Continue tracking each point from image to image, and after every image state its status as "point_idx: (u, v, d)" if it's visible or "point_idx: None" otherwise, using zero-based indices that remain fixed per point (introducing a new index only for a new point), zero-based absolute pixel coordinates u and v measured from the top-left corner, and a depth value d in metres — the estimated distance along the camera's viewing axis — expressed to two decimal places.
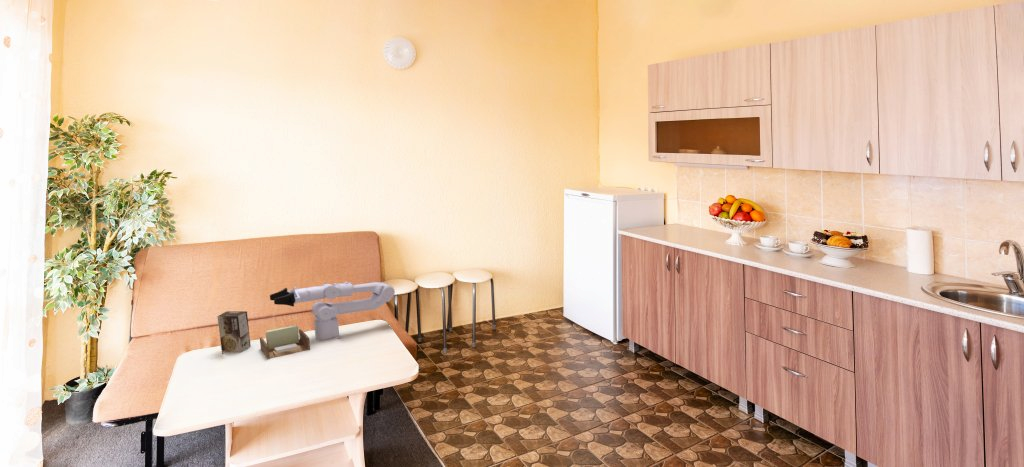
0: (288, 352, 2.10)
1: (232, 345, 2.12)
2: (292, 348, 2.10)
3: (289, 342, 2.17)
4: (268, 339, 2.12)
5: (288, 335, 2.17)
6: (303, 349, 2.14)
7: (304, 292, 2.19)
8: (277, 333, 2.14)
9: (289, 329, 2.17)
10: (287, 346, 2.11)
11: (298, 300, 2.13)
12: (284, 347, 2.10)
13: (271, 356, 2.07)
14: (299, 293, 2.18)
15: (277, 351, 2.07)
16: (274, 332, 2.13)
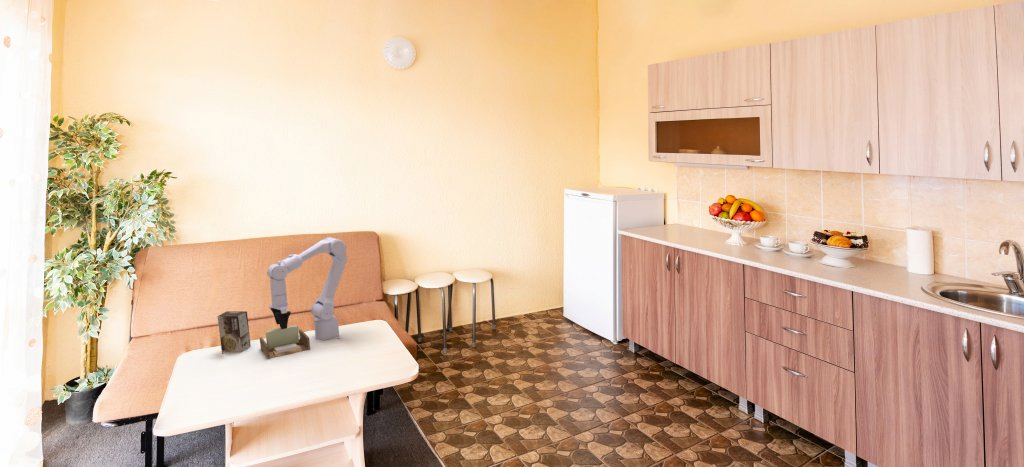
0: (288, 352, 2.10)
1: (232, 345, 2.12)
2: (292, 348, 2.10)
3: (289, 342, 2.17)
4: (268, 339, 2.12)
5: (288, 335, 2.17)
6: (303, 349, 2.14)
7: (276, 299, 2.11)
8: (277, 333, 2.14)
9: (289, 329, 2.17)
10: (287, 346, 2.11)
11: (284, 310, 2.08)
12: (284, 347, 2.10)
13: (271, 356, 2.07)
14: (277, 304, 2.11)
15: (277, 351, 2.07)
16: (274, 332, 2.13)
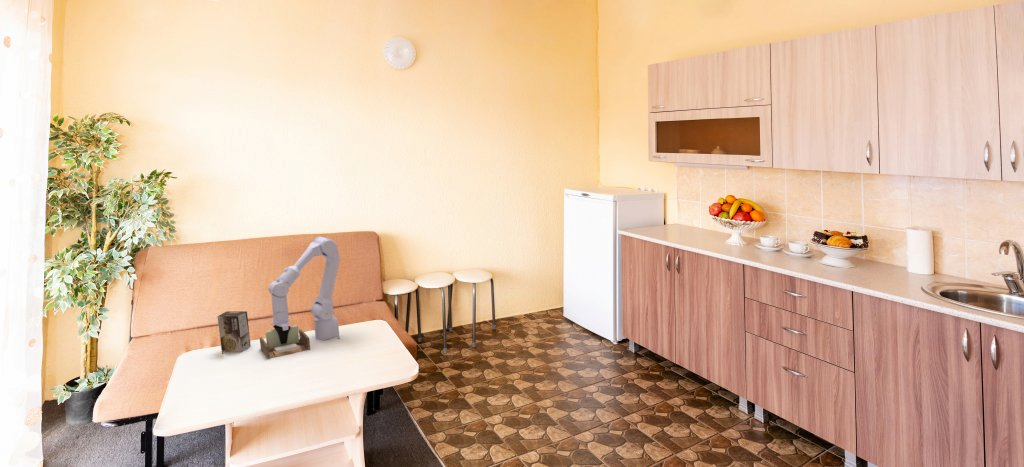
0: (288, 352, 2.10)
1: (232, 345, 2.12)
2: (292, 348, 2.10)
3: (289, 342, 2.17)
4: (268, 339, 2.12)
5: (288, 335, 2.17)
6: (303, 349, 2.14)
7: (277, 316, 2.12)
8: (277, 333, 2.14)
9: None
10: (287, 346, 2.11)
11: (286, 327, 2.10)
12: (284, 347, 2.10)
13: (271, 356, 2.07)
14: (278, 321, 2.12)
15: (277, 351, 2.07)
16: (274, 332, 2.13)
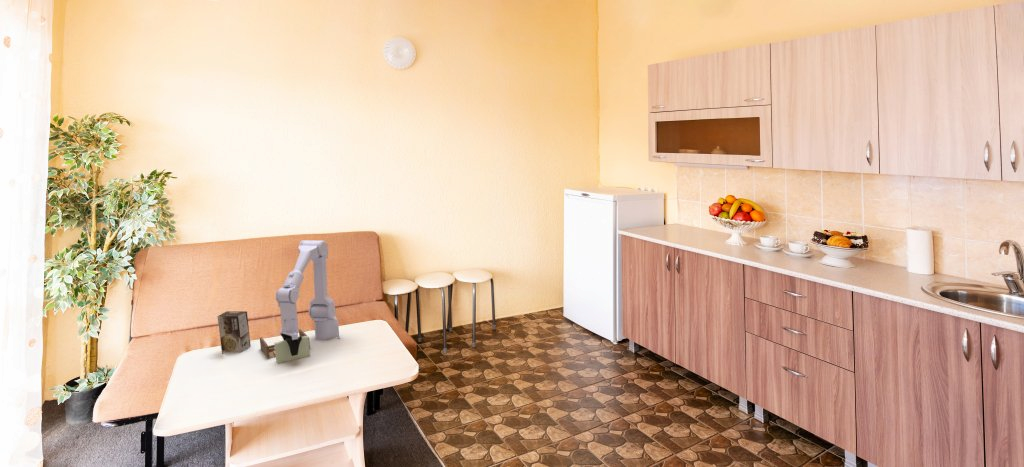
0: None
1: (232, 345, 2.12)
2: None
3: (299, 354, 2.05)
4: (277, 351, 2.00)
5: None
6: None
7: (286, 324, 2.00)
8: (287, 345, 2.02)
9: None
10: None
11: (295, 336, 1.97)
12: None
13: (271, 356, 2.07)
14: (287, 329, 2.00)
15: None
16: (284, 343, 2.01)
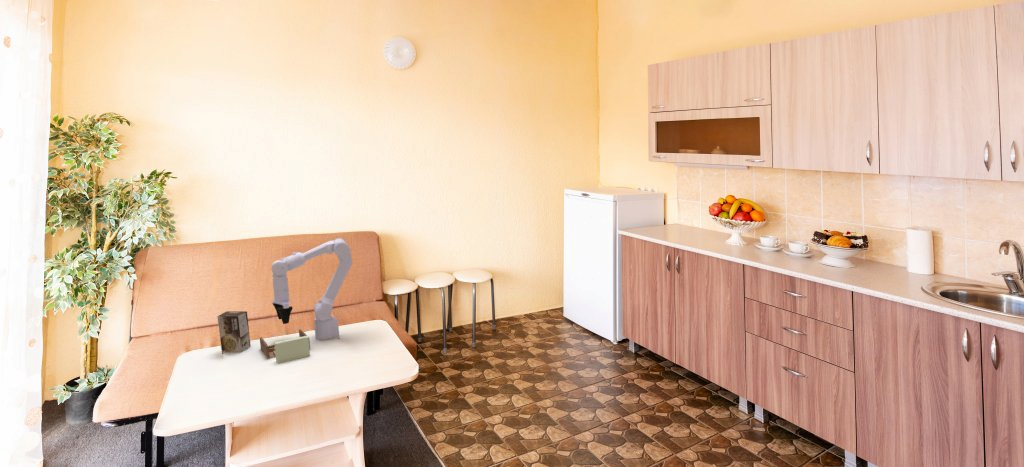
0: None
1: (232, 345, 2.12)
2: None
3: (299, 354, 2.05)
4: (277, 351, 2.00)
5: (298, 347, 2.05)
6: None
7: (278, 294, 2.16)
8: (287, 345, 2.02)
9: (299, 340, 2.05)
10: None
11: (286, 305, 2.13)
12: None
13: (271, 356, 2.07)
14: (279, 299, 2.16)
15: None
16: (284, 343, 2.01)
